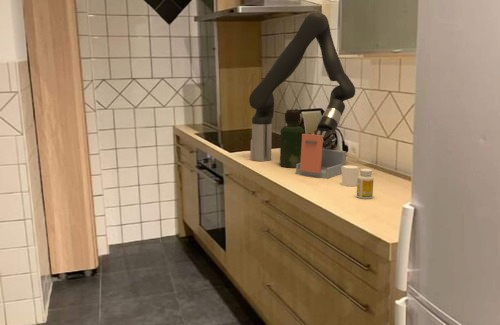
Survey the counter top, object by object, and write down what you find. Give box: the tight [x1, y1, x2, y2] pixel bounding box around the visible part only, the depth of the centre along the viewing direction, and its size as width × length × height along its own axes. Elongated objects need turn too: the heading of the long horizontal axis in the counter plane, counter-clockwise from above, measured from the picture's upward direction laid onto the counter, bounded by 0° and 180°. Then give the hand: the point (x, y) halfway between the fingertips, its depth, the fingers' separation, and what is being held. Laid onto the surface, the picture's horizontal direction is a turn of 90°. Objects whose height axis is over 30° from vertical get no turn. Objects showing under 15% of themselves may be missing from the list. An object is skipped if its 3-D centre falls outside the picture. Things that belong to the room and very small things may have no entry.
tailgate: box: [300, 133, 323, 173], centre depth 205 cm, size 2×9×15 cm, turn 52°
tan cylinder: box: [341, 164, 360, 187], centre depth 193 cm, size 7×7×7 cm
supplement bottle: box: [356, 168, 375, 200], centre depth 175 cm, size 5×5×10 cm
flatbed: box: [295, 148, 347, 179], centre depth 213 cm, size 15×15×9 cm
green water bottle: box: [279, 109, 305, 169], centre depth 226 cm, size 10×10×25 cm
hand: (314, 154), depth 207 cm, fingers closed
